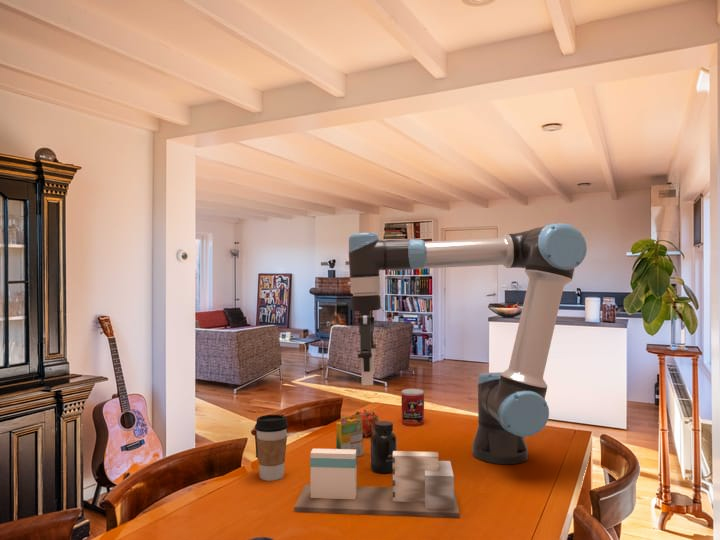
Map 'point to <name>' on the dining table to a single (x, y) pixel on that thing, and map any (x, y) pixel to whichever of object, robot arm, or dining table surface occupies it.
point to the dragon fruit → (367, 421)
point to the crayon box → (350, 434)
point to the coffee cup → (271, 446)
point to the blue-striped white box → (333, 473)
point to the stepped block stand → (398, 491)
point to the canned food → (412, 407)
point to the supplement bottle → (383, 447)
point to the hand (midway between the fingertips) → (368, 379)
